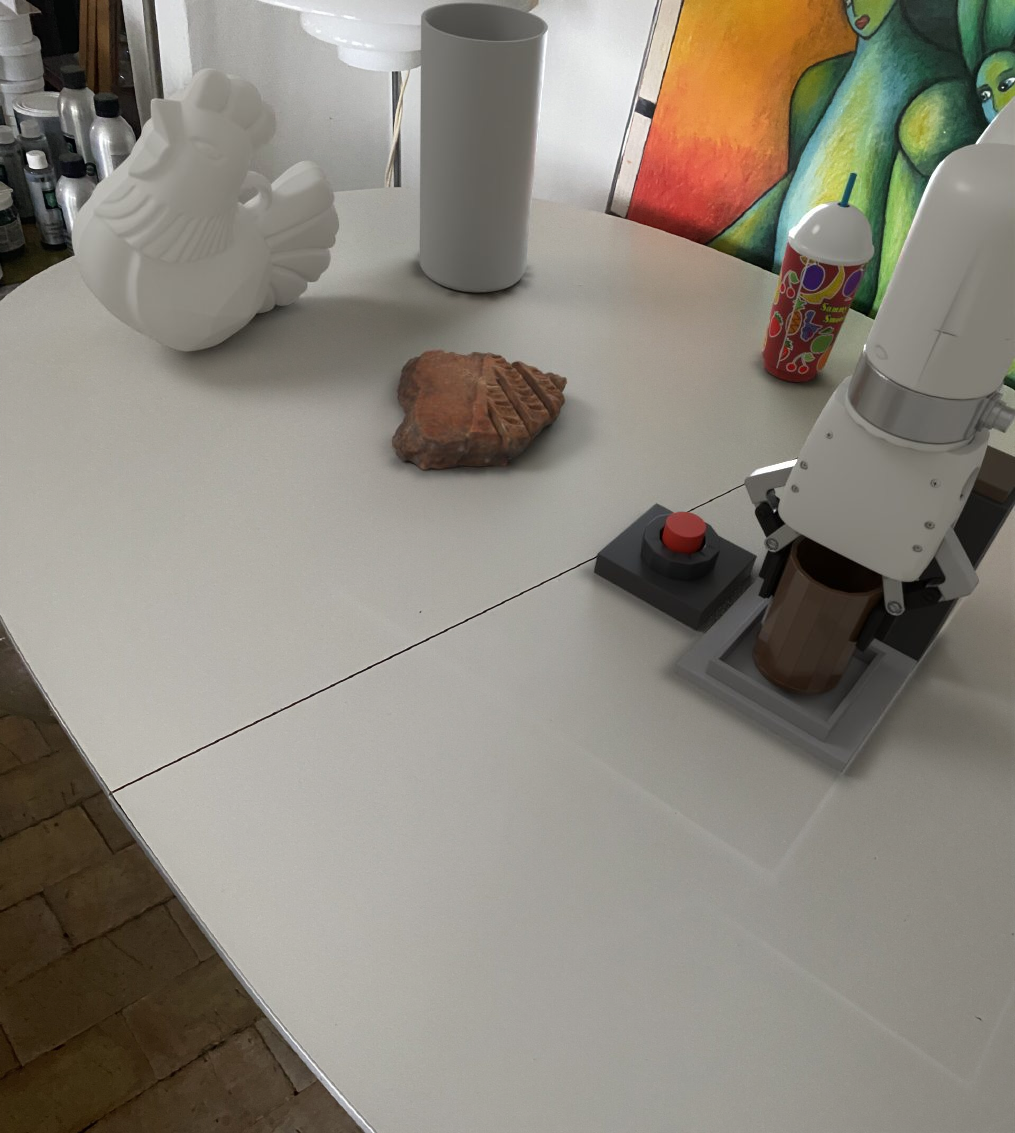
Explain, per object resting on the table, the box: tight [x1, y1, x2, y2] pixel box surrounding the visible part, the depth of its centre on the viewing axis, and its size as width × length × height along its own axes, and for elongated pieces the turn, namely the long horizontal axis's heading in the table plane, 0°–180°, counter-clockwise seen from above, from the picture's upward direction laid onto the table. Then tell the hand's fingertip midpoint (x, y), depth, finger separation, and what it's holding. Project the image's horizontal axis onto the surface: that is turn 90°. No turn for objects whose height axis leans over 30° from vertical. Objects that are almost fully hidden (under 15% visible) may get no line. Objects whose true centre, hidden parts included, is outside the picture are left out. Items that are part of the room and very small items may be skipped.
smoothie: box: [761, 172, 875, 383], centre depth 96 cm, size 8×8×20 cm
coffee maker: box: [674, 444, 1015, 773], centre depth 68 cm, size 14×18×17 cm
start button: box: [662, 511, 706, 554], centre depth 76 cm, size 3×3×2 cm
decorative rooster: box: [71, 67, 340, 352], centre depth 92 cm, size 25×16×25 cm
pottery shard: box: [391, 349, 568, 471], centre depth 91 cm, size 16×16×4 cm
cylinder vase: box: [419, 2, 549, 293], centre depth 103 cm, size 12×12×25 cm
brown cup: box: [752, 534, 884, 696], centre depth 68 cm, size 7×7×10 cm
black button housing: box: [593, 502, 758, 632], centre depth 78 cm, size 10×9×4 cm
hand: (819, 612), depth 67 cm, fingers closed on brown cup, 6 cm apart
